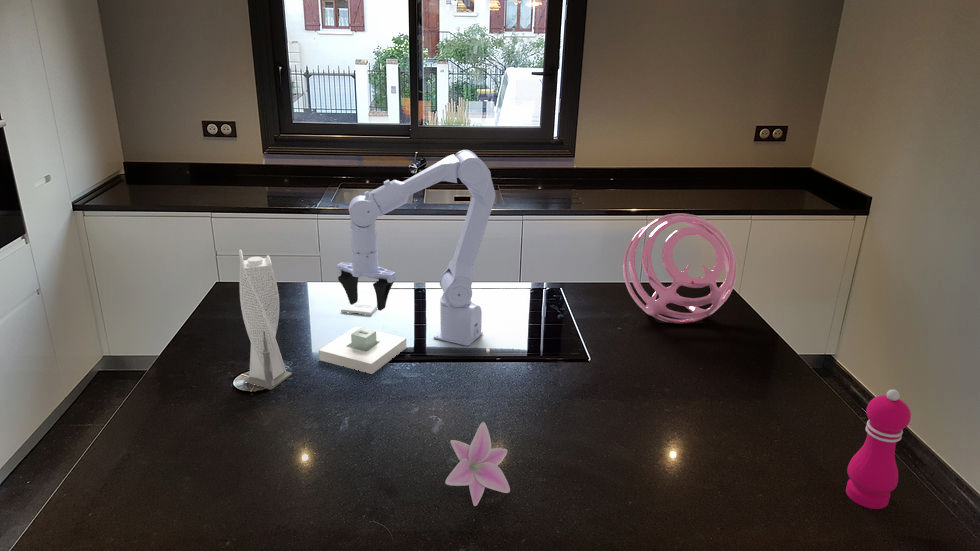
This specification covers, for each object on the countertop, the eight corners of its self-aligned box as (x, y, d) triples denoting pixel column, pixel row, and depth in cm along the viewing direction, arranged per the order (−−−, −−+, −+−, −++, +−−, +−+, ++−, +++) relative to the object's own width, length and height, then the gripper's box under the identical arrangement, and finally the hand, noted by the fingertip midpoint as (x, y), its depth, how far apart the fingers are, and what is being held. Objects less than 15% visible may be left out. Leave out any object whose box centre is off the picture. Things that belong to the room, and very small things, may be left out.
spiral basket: (627, 219, 193) (652, 184, 167) (723, 248, 192) (765, 218, 166) (601, 313, 187) (624, 293, 160) (701, 343, 186) (741, 328, 159)
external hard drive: (387, 299, 188) (371, 317, 176) (359, 296, 189) (341, 314, 178) (387, 294, 187) (370, 312, 176) (359, 291, 189) (340, 308, 177)
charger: (377, 350, 158) (376, 330, 156) (366, 358, 154) (365, 337, 152) (362, 347, 159) (361, 326, 157) (352, 354, 156) (351, 333, 154)
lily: (432, 513, 109) (455, 482, 103) (428, 448, 117) (449, 416, 111) (501, 519, 113) (526, 490, 107) (492, 456, 122) (515, 426, 116)
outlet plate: (406, 347, 160) (406, 338, 159) (371, 374, 148) (371, 363, 147) (356, 335, 165) (356, 326, 164) (319, 360, 153) (318, 350, 152)
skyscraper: (238, 381, 144) (222, 254, 134) (263, 364, 151) (250, 243, 141) (271, 389, 141) (257, 261, 131) (295, 372, 148) (284, 248, 138)
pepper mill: (833, 483, 116) (858, 379, 109) (874, 481, 117) (901, 377, 109) (858, 512, 109) (886, 403, 102) (901, 510, 110) (932, 401, 103)
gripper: (327, 250, 153) (331, 306, 158) (382, 260, 148) (384, 318, 152) (345, 241, 159) (349, 295, 164) (399, 250, 154) (401, 306, 158)
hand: (367, 305), depth 159 cm, fingers open, 7 cm apart
